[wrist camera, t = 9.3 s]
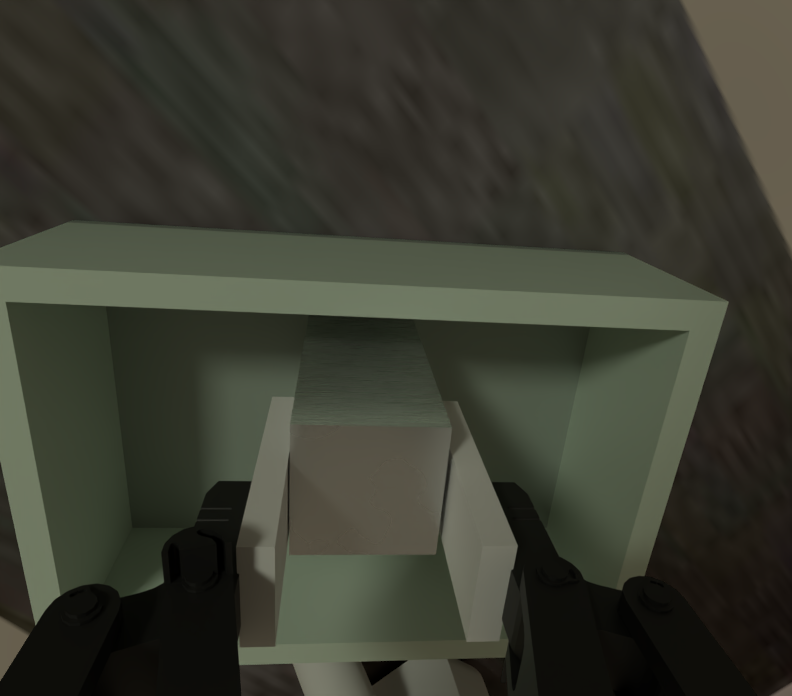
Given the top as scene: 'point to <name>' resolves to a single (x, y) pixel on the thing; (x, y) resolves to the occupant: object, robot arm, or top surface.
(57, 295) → the open box
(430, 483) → the grey l-shaped block
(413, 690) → the wall hook
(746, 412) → the top surface
